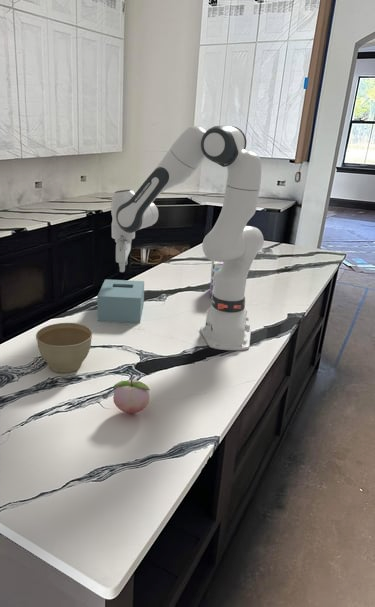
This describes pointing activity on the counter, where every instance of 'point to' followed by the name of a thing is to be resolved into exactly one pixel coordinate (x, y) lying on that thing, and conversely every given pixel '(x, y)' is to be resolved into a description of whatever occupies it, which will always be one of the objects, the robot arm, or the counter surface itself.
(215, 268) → the candy box
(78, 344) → the planter bowl
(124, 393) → the decorative fruit
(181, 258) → the counter surface
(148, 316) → the counter surface
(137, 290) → the box
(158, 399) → the counter surface
